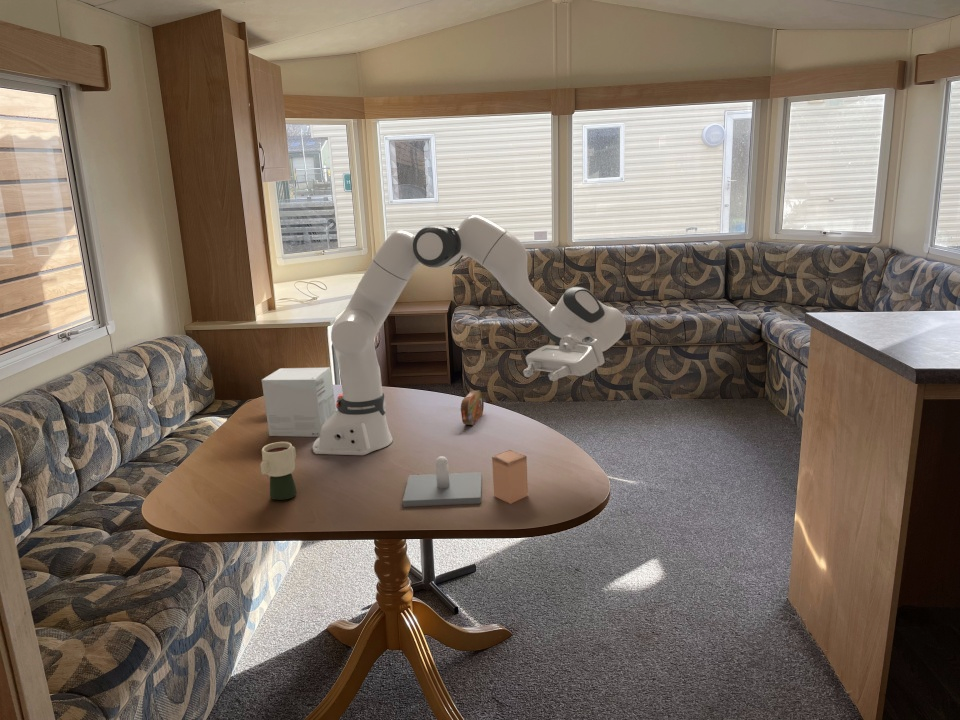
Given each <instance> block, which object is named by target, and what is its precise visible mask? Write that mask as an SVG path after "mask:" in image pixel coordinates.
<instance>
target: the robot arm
mask: <svg viewBox="0 0 960 720" xmlns="http://www.w3.org/2000/svg"><path fill="white" fill-rule="evenodd" d="M526 249H527V248H526V247H525V245H524V244H523V243H522V242H521V241H520V239H518V238H517V237H516V236H514V235H513V234H512V233H511V232H510V231H508V230H506V229H505V228H503V227H502V226H500V225H498V224H497V223H496V222H494V221H492V220H490V219H488V218H486V217H484V216H481V215H479V214H472V215H470V216H467V217H466V218H465V219H463V220H462V222H460V224H459V226H457V227H456V228H455V227H453V226H447V225H443V224H442V225H441V224H440V225H439V224H438V225H437V224H432V225H431V224H430V225H428V226H425V227H422V228H421V229H420V230H418V232H417V233H416V234H414V233H412V232H410V231H407V230H401V229H398V230H394V231H393V232H392V233H390V235H389V236H388V237H387V238H386V240H385V241H384V242H383V243H382V244H381V246H380V247H379V249H378V250H377V252H376V253H375V255H374V257H373V258H372V261H371V262H370V263H369V265H368V267H367V268H366V271H365V272H364V274H363V276H362V278H361V279H360V281H359V282H358V284H357V286H356V288H355V290H354V293H353V294H352V297H351V298H350V300H349V302H348V303H347V306H346V307H345V309H344V311H343V312H342V314H341V315H340V316H339V317H338V318H337V319H336V320H335V321H334V324H333V325H332V327H331V331H330V338H331V343H332V346H333V350H334V354H335V358H336V361H337V365H338V368H339V373H340V380H341V381H340V382H341V391H342V393H340V394H339V395H338V397H337V399H336V402H335V408H336V409H337V410H336V412H335V413H334V414H333V415H332V416H331V417H329V418H328V419H327V420H326V421H325V422H324V423H323V425H322V427H321V431H320V437H317V438H316V439H315V440H314V443H313V444H312V452H313V453H314V454H316V455H338V456H339V455H341V456H345V455H346V456H347V455H348V456H365V455H367V454H369V453H372V452H374V451H377V450H381V449H383V448H386V447H387V446H389V445H390V444H392V442H393V439H394V438H393V437H392V435H391V431H390V429H389V424H388V421H387V417H386V412H387V411H386V410H387V404H386V398H385V393H384V392H383V385H382V376H381V367H380V364H379V361H378V356H377V351H376V346H375V338H376V336H377V334H378V333H379V331H380V329H381V328H382V326H383V324H384V322H386V319H387V318H388V316H389V314H390V313H391V311H392V309H393V307H394V306H395V304H396V302H397V301H398V299H399V298H400V296H401V294H402V292H403V291H404V289H405V287H406V285H407V284H408V283H409V281H410V279H411V278H412V275H413V274H414V272H415V271H416V269H417V268H418V267H419V266H420V265H421V264H422V265H423V266H425V267H428V268H435V269H443V268H447V267H452V266H455V265H456V264H457V263H459V262H460V261H461V260H462V258H463V257H464V256H466V257H469V258H470V259H473V260H474V261H475V262H476V263H478V264H479V265H480V266H481V267H483V268H484V269H486V270H487V271H488V272H490V274H491V275H492V276H493V277H494V278H495V279H496V280H497V281H498V283H499V284H500V286H501V288H502V289H503V291H504V292H505V294H507V295H508V297H510V299H512V300H513V302H514V303H516V305H518V306H519V307H520V308H521V309H522V310H523V311H524V312H525V313H526V314H528V316H530V317H531V318H532V320H534V321H535V322H536V323H537V324H538V325H539V326H540V327H541V329H542V330H543V332H544V334H545V335H546V336H547V337H548V338H549V339H550V341H552V342H553V343H555V344H559V345H554V344H553V345H552V344H546V345H544V346H541V347H539V348H537V349H535V350H533V351H532V352H530V353H528V354H527V355H526V356H525V361H526V365H527V367H526V368H525V369H523V371H522V373H523V375H524V377H526V378H530V377H531V376H533V375H534V372H537V371H540V372H541V371H543V372H549V373H548V375H547V377H548V379H549V381H553V382H555V381H558V380H559V379H562V378H564V377H568V376H569V375H570V376H576V377H582V376H586V375H587V374H590V373H591V372H592V371H594V370H595V369H596V368H598V367H601V366H602V365H604V364H605V362H606V361H605V357H604V354H603V352H605V351H607V350H608V349H610V348H611V347H612V346H614V345H615V344H616V343H617V342H618V341H619V340H620V339H621V338H622V337H623V336H624V334H625V332H626V328H627V323H626V322H627V321H626V319H625V317H624V315H623V313H622V312H621V311H620V310H619V309H618V308H615V307H612V306H608V305H606V304H604V303H602V301H600V300H599V299H598V298H597V297H596V296H595V295H594V293H593V292H592V291H590V290H589V289H587V288H585V287H582V286H571V287H569V288H567V289H566V290H565V291H564V293H563V294H562V296H561V297H560V299H559V300H558V301H557V304H555V306H554V305H553V304H551V303H550V302H549V301H548V300H547V299H546V298H545V297H544V296H543V295H541V294H540V293H539V292H538V291H537V290H536V289H535V288H534V287H533V285H532V284H531V282H530V279H529V274H528V260H529V259H528V253H527V250H526Z"/></svg>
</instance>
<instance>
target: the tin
mask: <svg viewBox="0 0 960 720" xmlns="http://www.w3.org/2000/svg"><path fill="white" fill-rule="evenodd" d="M460 404H461V405H460V414H461V421H462V423H463V424H464V426H474V425H475V424H476V423H477V422H478V421H479V420H480V418H481V417H482V415H483V413H484V397H483V393H482V391H481V390H471V391H469V392H468V394H467V395H466V396H465V397H464V398H463V399H462V401H461V403H460Z"/></svg>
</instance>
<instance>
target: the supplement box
mask: <svg viewBox="0 0 960 720" xmlns="http://www.w3.org/2000/svg"><path fill="white" fill-rule="evenodd" d="M332 377H333V375H332V370H331V367H329V366H328V367H288V368H287V367H285V368H284V367H282V368H278V369H277V370H275V371H273V372H272V373H271V374H269V375H267V376H265V377H264V378H262V379H261V385H262V391H263V393H262V394H263V399H264V407H265V414H266V420H267V421H266V422H267V429H268V435H269V437H306V438H307V437H311V438H313V437H314V438H315V437H317V438H319V437H320V431H321V427H322V425H323V423H324V422H325V421H326V420H327V419H328V418H329V417H331V416H332V415H333V414H334V413H335V412H336V411H337V410H336V409H337V408H336V401H335V393H334V385H333V378H332Z"/></svg>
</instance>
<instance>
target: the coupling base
mask: <svg viewBox="0 0 960 720" xmlns="http://www.w3.org/2000/svg"><path fill="white" fill-rule="evenodd" d="M434 463H435V473H429V474H427V473H426V474H409V475H408V478H407V482H406V486H405V491H404V494H403V497H402V507H404V508H405V507H406V508H407V507H424V506H425V507H426V506H449V505H471V504H473V505H474V504H475V505H476V504H482V471H473V472H471V471H469V472H454V473H453V472H451V473H450V472H449V471H450V470H449V460H448V459H447V457H445V455H444V456H442V455H440V456H438V457H436V459H435V462H434Z"/></svg>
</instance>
